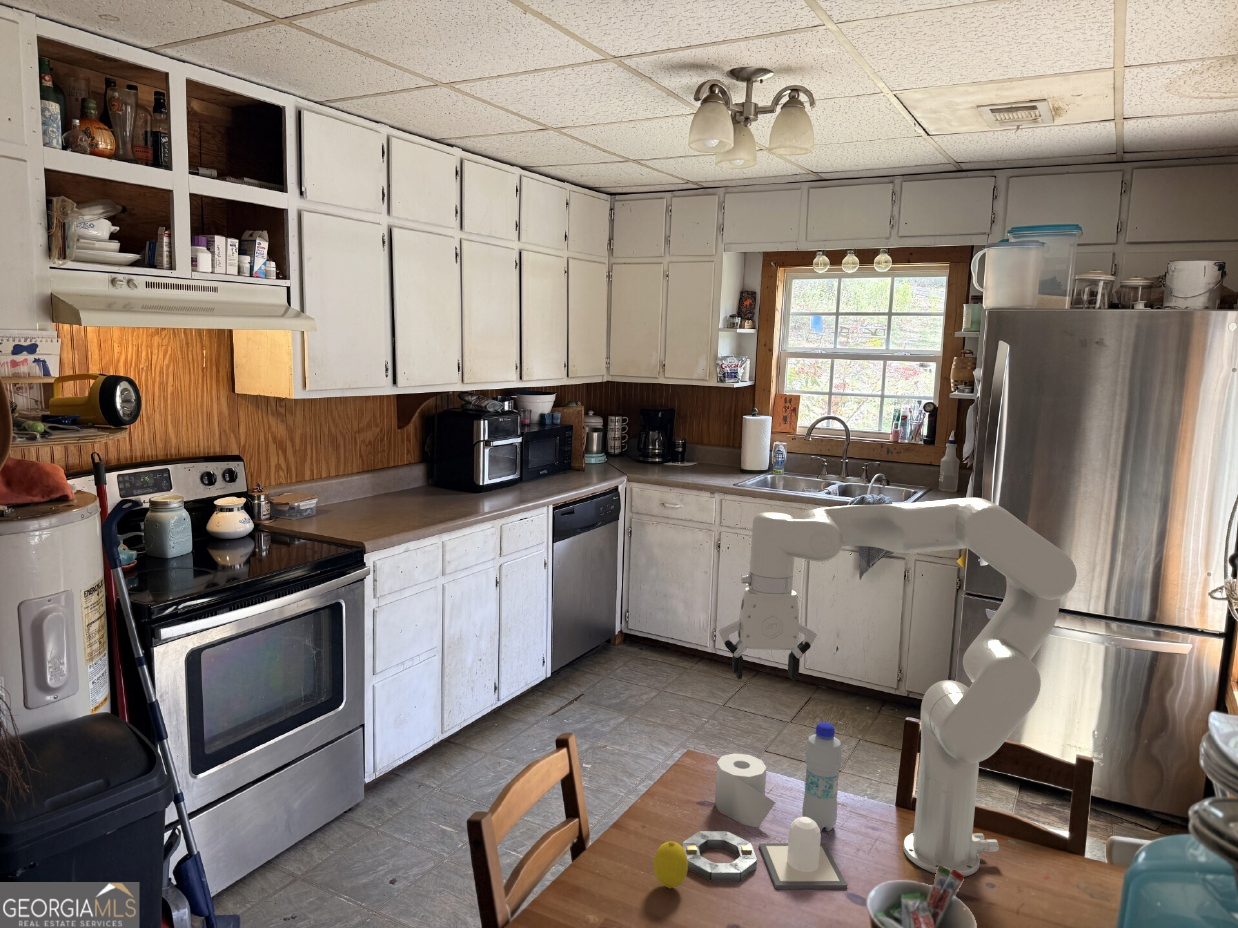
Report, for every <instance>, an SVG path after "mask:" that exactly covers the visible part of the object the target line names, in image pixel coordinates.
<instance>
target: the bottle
mask: <svg viewBox="0 0 1238 928" xmlns="http://www.w3.org/2000/svg"><path fill="white" fill-rule="evenodd" d="M835 732H836V731H835V727H834V725H833V724H831V723H829V722H825V721H824V722H823V721H822V722H819V723H818V724H816V727H815V733H814V734H812V735H809V736H808V739H807V744H806V749H805V753H804V755H805V759H804V762H805V764H806V769H805V770H806V771H805V783H804V794H803V795H804V796H803V803H802V811H801V813H802V816H801V817H808V818H810V819H812V820H814V821H815V822H816V824H817V825H818V827H819V829H820V833H821V832H822V831H823V829H825V831H826V832H829V831H831V830H832V829H833V827H834V826H836V822H837V817H838V790H839V774H840V770H841V768H842V762H843V756H842V743H841V740H840V739H838V738H837V737H835Z"/></svg>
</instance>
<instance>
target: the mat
mask: <svg viewBox="0 0 1238 928" xmlns="http://www.w3.org/2000/svg"><path fill="white" fill-rule="evenodd" d="M758 848H759V849H760V853H761V855H762V858H763V860H764V863H765V865H766V868H767V870H768V872H769V875H770V878H771V881H772V882H773V883H772V884H773V886H774V888H775V889H776V890H778V889H780V890H781V889H783V890H785V889H786V890H788V889H789V890H790V889H794V890H796V889H797V890H800V889H801V890H802V889H803V890H804V889H805V890H809V889H812V890H814V889H817V890H819V889H821V890H822V889H823V890H824V889H826V890H828V889H829V890H830V889H833V890H835V889H840V890H842V889H845V890H846V889H848V884H847V882H846V880H845V878H844V876H843V874H842V872H841V871H840V868H839V867H838V865H837V863H836V861H835V859H834V857H833V856H832V853H831V851H830V850H829V848H828V846H827V844H826V843H821V842H820V853H819V865H818V868H817V869H816V870H815V871H812V872H802V871H798V870H796V869H794V868H792V867H791V866H790V865H789V864H788V862H787V854H788V842H787V843H785V842H784V843H781V842H779V843H778V842H777V843H774V842H773V843H771V842H770V843H767V842H766V843H763V842H759V843H758Z"/></svg>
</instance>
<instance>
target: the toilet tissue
mask: <svg viewBox="0 0 1238 928" xmlns="http://www.w3.org/2000/svg"><path fill="white" fill-rule="evenodd" d="M767 770H768V769H767V765H765V764H764V762H763V760H762V759H760V758H757V757H755V756H753V755H751V754H744V753H734V752H733V753H729V754H725V755H722V756H721V757H720V758H719V759H718V760H717V761H716V775H715V792H714V793H715V795H714V796H715V797H714V805H715V808H716V809H717V811H718V812H719V813H721V814H723V815H725V816H727V817H729V818H730V819H732V820H734V821H736V822H739V823H740V824H742V825H745V826H749V827H753V828H759V827H760V825H761V824H762V822H763V821H764V820H765V818H766V817H767V815H768V814H769V813H770V812H771V810H772V809H773V807H774V806H775V805H776V803H777V801H774V800H772V799H771V798H769V797H768V796H766V785H767V784H766V781H767Z"/></svg>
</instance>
